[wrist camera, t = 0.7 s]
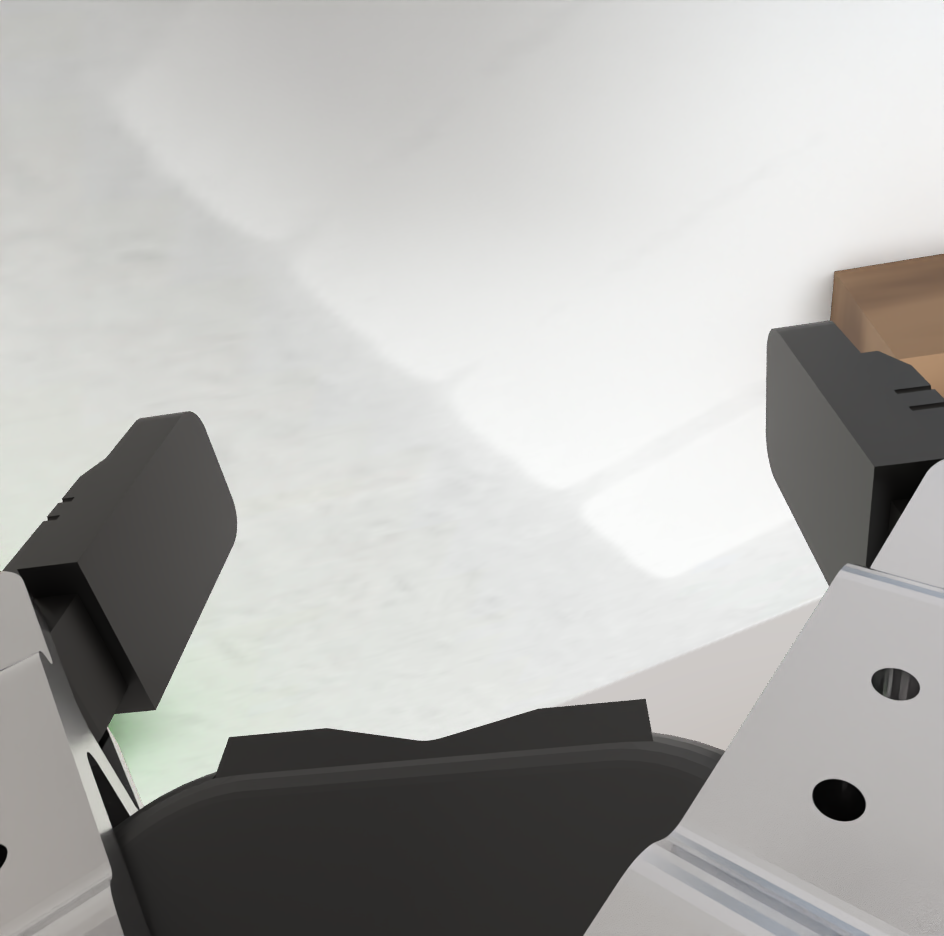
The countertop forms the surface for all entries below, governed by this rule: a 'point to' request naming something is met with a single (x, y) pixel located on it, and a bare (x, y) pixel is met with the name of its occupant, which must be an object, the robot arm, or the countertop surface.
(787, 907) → the robot arm
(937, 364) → the walnut block
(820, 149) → the countertop surface
